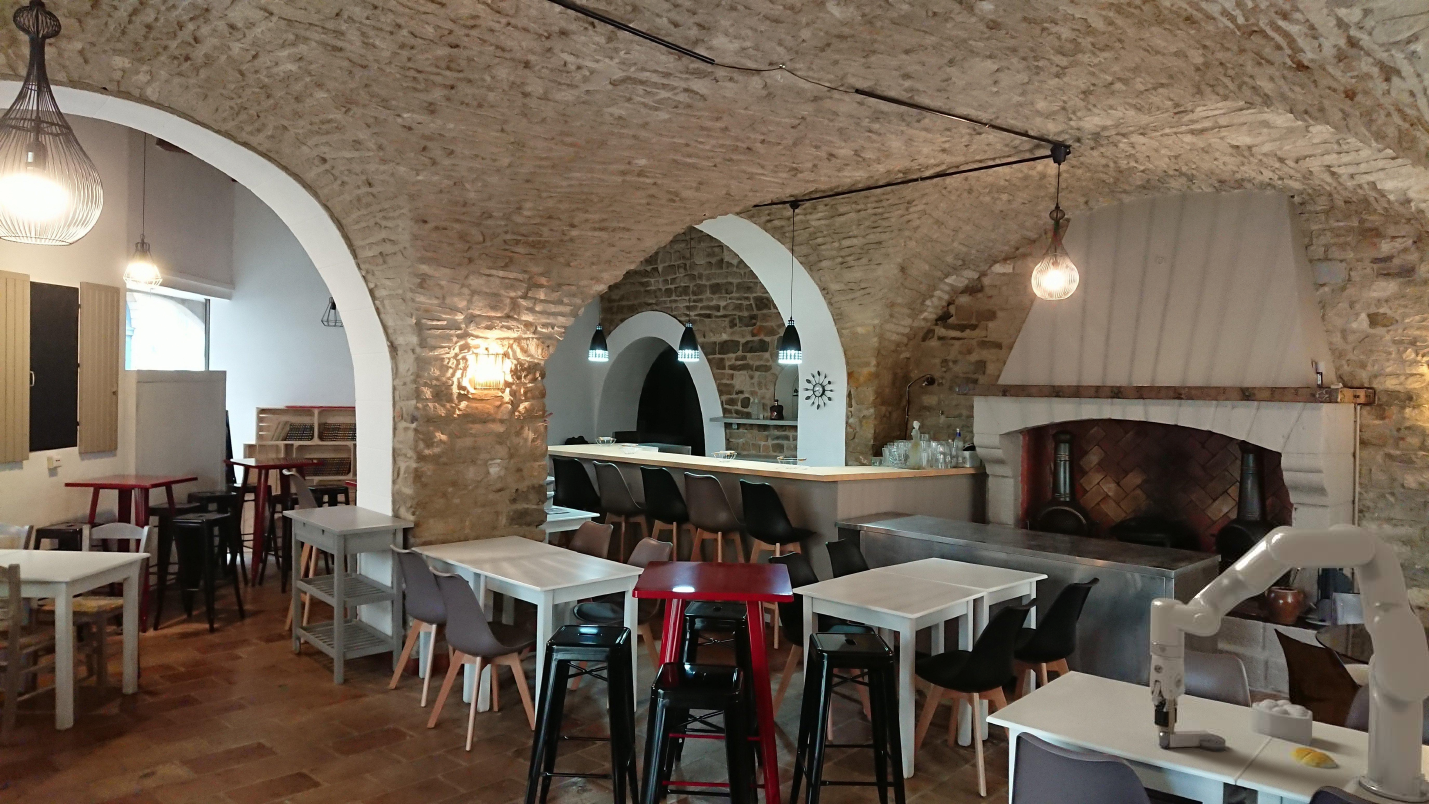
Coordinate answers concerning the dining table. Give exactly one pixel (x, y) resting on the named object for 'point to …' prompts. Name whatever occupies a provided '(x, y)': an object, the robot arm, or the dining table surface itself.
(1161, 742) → the grey elongated piece
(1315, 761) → the bread roll
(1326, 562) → the robot arm
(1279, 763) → the dining table surface
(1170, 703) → the handle
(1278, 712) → the white egg tray
